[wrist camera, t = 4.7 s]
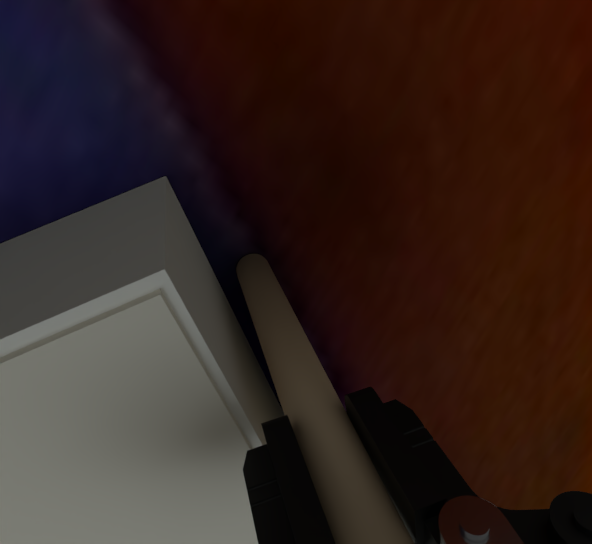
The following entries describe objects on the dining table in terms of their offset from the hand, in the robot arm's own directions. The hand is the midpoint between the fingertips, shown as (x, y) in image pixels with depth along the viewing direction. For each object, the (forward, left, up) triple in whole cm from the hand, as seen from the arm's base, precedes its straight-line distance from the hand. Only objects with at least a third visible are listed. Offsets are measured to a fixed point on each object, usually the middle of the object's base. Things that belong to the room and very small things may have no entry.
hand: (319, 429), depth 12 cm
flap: (+5, 0, -11) cm, 12 cm away
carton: (+2, -6, -11) cm, 13 cm away
